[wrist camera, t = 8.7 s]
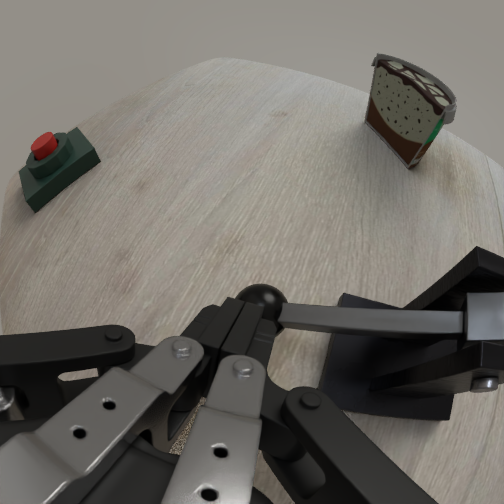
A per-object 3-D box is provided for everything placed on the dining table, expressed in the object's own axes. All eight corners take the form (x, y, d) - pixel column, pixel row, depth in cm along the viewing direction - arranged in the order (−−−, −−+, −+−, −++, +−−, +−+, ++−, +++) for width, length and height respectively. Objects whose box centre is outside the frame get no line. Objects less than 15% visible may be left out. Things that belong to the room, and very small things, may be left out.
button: (38, 164, 23) (32, 154, 22) (35, 154, 25) (29, 144, 23) (60, 148, 25) (54, 137, 23) (55, 139, 26) (49, 128, 24)
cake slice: (445, 171, 28) (478, 111, 19) (415, 178, 27) (451, 108, 18) (389, 113, 34) (408, 56, 25) (358, 115, 33) (374, 51, 24)
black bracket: (313, 404, 16) (398, 404, 6) (339, 298, 20) (412, 193, 10) (440, 420, 15) (560, 403, 4) (452, 327, 19) (553, 261, 8)
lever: (241, 343, 17) (211, 323, 14) (257, 297, 18) (232, 271, 16) (500, 366, 8) (524, 347, 6) (500, 306, 10) (519, 276, 8)
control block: (35, 213, 25) (17, 191, 21) (26, 182, 27) (12, 162, 24) (100, 161, 28) (88, 136, 25) (82, 138, 31) (72, 116, 27)
